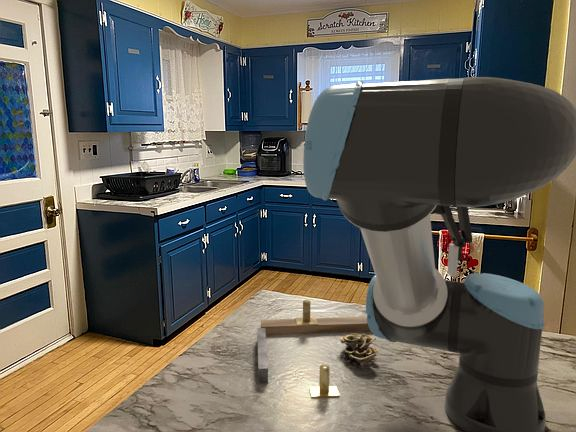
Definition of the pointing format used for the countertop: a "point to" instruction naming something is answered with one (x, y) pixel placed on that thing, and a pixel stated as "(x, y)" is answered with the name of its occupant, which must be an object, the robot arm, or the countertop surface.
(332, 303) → the countertop surface
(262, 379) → the end stop
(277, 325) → the beam plank
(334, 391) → the near post
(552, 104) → the robot arm
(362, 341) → the mushroom
